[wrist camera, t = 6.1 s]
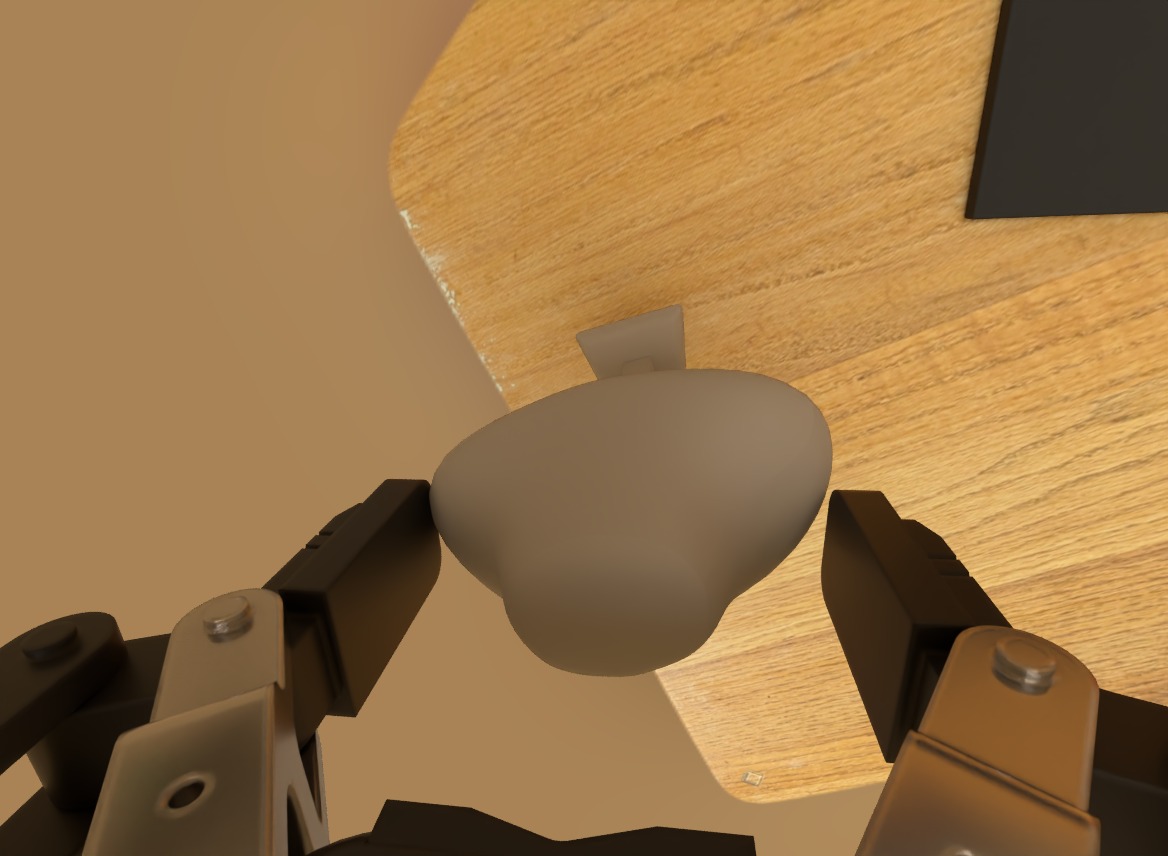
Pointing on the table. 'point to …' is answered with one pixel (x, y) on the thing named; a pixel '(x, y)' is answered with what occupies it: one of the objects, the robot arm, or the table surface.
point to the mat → (1075, 111)
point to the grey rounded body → (634, 499)
